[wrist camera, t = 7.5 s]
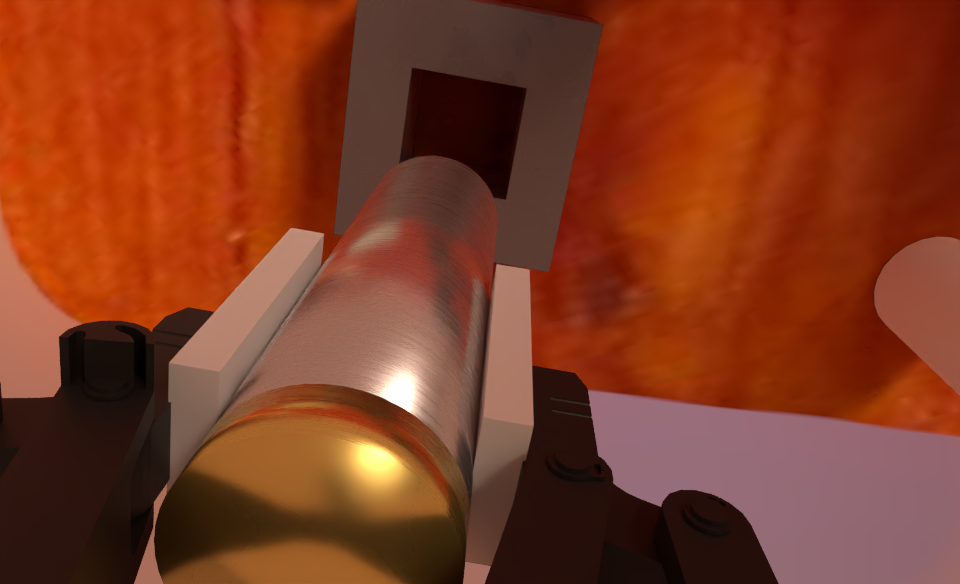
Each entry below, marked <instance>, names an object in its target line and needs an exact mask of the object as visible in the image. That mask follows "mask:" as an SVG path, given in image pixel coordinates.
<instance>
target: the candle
mask: <svg viewBox="0 0 960 584" xmlns="http://www.w3.org/2000/svg"><path fill="white" fill-rule="evenodd" d="M874 305H875V308H876V310H877V313H878V316H879V317H880V318H881V320H882V321H883V322H884V323H885V325H886V326H887V327H888V328H889V329H890V330H891V331H893V332H894V333H895V334H896V335H897V336H898V337H899V338H900V339H901V340H902V341H903V342H904V343H905V344H906V345H907V346H908V347H909V348H910V349H911V350H912V351H914V352H915V353H916V354H917V355H918V356H919V357H920V358H921V359H922V360H923V361H924V362H925V363H926V364H927V365H928V366H929V367H930V368H931V369H932V370H933V371H934V372H936V373H937V374H938V375H939V376H940V377H941V378H942V379H943V380H944V381H945V382H946V383H947V384H948V385H949V386H950V387H951V388H952V389H953V390H954V391H955V392H957V393H958V394H959V395H960V240H959V239H956V238H952V237H932V238H927V239H922V240H920V241H917V242H915V243H912V244H910V245H908V246H906V247H905V248H903V249H902V250H901V251H899V252H898V253H896V254H895V255H894V256H893V257H892V258H891V259H890V260H889V261H888V262H887V264H886V265H885V266H884V267H883V269H882V271H881V273H880V275H879V276H878V278H877V282H876V286H875V290H874Z"/></svg>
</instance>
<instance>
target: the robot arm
mask: <svg viewBox="0 0 960 584" xmlns="http://www.w3.org/2000/svg"><path fill="white" fill-rule="evenodd" d="M323 242H324V233H318V232H313V231H307V230H301V229H296V228H290V230H289V231H288V232H287V233H286V234H285V235H284V236H283V237H282V238H281V239H280V241H279V242H278V243H277V244H276V245H275V246H274V247H273V248H272V249H271V251H270V252H269V253H268V254H267V255H266V256H265V257H264V258H263V259H262V260H261V262H260V263H259V264H258V265H257V266H256V267H255V268H254V269H253V270H252V272H251V273H250V274H249V275H248V276H247V277H246V278H245V279H244V280H243V281H242V283H241V284H240V285H239V286H238V287H237V288H236V289H235V290H234V291H233V293H232V294H231V295H230V296H229V297H228V298H227V299H226V300H225V301H224V302H223V304H222V305H221V306H220V307H219V308H218V309H217V310H216V311H215V312H211V311H205V310H200V309H194V308H185V309H183V310H181V311H178V312H176V313H173V314H171V315H169V316H166V317H165V318H164V319H163V320H162V321H161V322H160V323H159V324H158V325H157V326H156V327H155V328H154V329H153V331H152V332H151V331H150V330H149V329H147V328H145V327H142V326H140V325H138V324H135V323H129V322H123V321H97V322H91V323H85V324H81V325H79V326H76V327H73V328H71V329H68V330H67V331H66V332H65V333H63V334H62V335H61V336H60V337H59V346H60V366H61V387H60V388H59V390H58V391H57V393H56V394H55V396H54V397H46V398H2V396H1V384H0V584H134V582H135V579H136V576H137V573H138V570H139V567H140V564H141V561H142V558H143V555H144V553H145V549H146V547H147V544H148V540H149V538H150V535H151V532H152V529H153V516H154V512H153V511H154V501H155V500H156V498H157V496H158V495H159V494H160V492H161V491H162V490H163V488H164V487H165V485H166V484H167V493H168V491H169V490H170V488H171V487H172V485H173V484H174V482H175V481H176V479H177V478H178V477H179V475H180V474H181V472H182V471H183V469H184V468H185V466H186V465H187V463H188V462H189V460H190V459H191V457H192V456H193V455H194V453H195V452H196V450H197V449H198V447H199V446H200V444H201V443H202V441H203V440H204V438H205V437H206V436H207V434H208V433H209V431H210V430H211V428H212V427H213V425H214V424H215V422H216V421H217V419H218V418H219V416H220V415H221V414H222V412H223V411H224V409H225V408H226V406H227V405H228V403H229V402H230V400H231V399H232V397H233V396H234V394H235V393H236V392H237V390H238V389H239V387H240V386H241V384H242V383H243V381H244V380H245V378H246V377H247V375H248V374H249V373H250V371H251V370H252V368H253V367H254V365H255V364H256V362H257V361H258V359H259V358H260V356H261V355H262V353H263V352H264V351H265V349H266V348H267V346H268V345H269V343H270V342H271V340H272V339H273V337H274V336H275V334H276V333H277V331H278V330H279V329H280V327H281V326H282V324H283V323H284V321H285V320H286V318H287V317H288V315H289V314H290V312H291V311H292V310H293V308H294V307H295V305H296V304H297V302H298V301H299V299H300V298H301V296H302V295H303V293H304V292H305V290H306V289H307V288H308V286H309V285H310V283H311V282H312V280H313V279H314V277H315V276H316V274H317V273H318V271H319V270H320V268H321V263H322V252H323ZM589 404H590V402H589V395H588V389H587V387H586V386H585V385H584V383H583V382H582V381H581V380H580V379H579V378H578V376H577V375H576V374H575V373H571V372H566V371H560V370H554V369H548V368H543V367H537V366H532V344H531V307H530V270H527V269H521V268H516V267H510V266H504V265H499V264H497V265H496V270H495V276H494V281H493V286H492V291H491V297H490V302H489V311H488V321H487V331H486V341H485V352H484V362H483V372H482V382H481V392H480V403H479V413H478V423H477V433H476V444H475V454H474V464H473V484H472V495H471V505H470V516H469V526H468V537H467V547H466V557H465V562H472V563H477V564H483V565H489V566H491V568H490V571H489V573H488V576H487V579H486V582H485V584H778V582H777V580H776V577H775V575H774V573H773V571H772V569H771V567H770V564H769V562H768V560H767V558H766V556H765V554H764V552H763V550H762V547H761V546H760V543H759V541H758V539H757V537H756V535H755V533H754V531H753V528H752V526H751V524H750V523H749V522H748V520H747V519H746V518H745V516H744V515H743V514H742V513H741V512H740V511H739V510H738V509H736V508H735V507H734V506H732V505H731V504H730V503H729V502H726V501H725V500H723V499H721V498H718V497H717V496H715V495H712V494H708V493H704V492H700V491H696V490H679V491H677V492H673V493H670V494H669V495H668V496H667V497H666V498H665V500H664V501H663V503H662V506H661V507H659V506H657V505H654V504H652V503H649V502H646V501H644V500H641V499H639V498H636V497H634V496H632V495H630V494H628V493H626V492H624V491H623V490H622V489H620V488H618V487H617V486H616V485H614V484H613V476H612V470H611V469H610V467H609V466H608V465H607V464H606V462H605V461H604V460H603V459H602V458H600V457H599V456H598V453H597V446H596V439H595V433H594V427H593V421H592V418H591V416H592V415H591V408H590V406H589Z"/></svg>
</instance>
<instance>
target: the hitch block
mask: <svg viewBox="0 0 960 584" xmlns="http://www.w3.org/2000/svg"><path fill="white" fill-rule="evenodd" d="M602 27H603V25H602V24H601V23H599V22H597V21H595V20H594V19H592V18H588V17H583V16H578V15H572V14H567V13H561V12H556V11H550V10H545V9H539V8H534V7H529V6H523V5H518V4H512V3H507V2H501V1H496V0H357V10H356V20H355V29H354V39H353V49H352V59H351V69H350V79H349V88H348V98H347V108H346V118H345V128H344V137H343V147H342V157H341V167H340V177H339V186H338V196H337V206H336V216H335V226H334V234H336V235H342V236H343V235H344V233H345V232H346V230H347V229H348V227H349V226H350V225H351V223H352V222H353V220H354V219H355V217H356V216H357V214H358V213H359V211H360V210H361V208H362V207H363V205H364V204H365V203H366V201H367V200H368V198H369V197H370V195H371V194H372V192H373V191H374V189H375V188H376V186H377V185H378V184H379V182H380V181H381V179H382V178H383V177H384V176H385V175H386V174H387V172H389V171H390V170H391V169H392V168H394V167H395V166H397V165H398V164H400V163H402V162H404V161H406V160H409V159H412V158H415V157H421V156H420V155H415V154H413V147H414V140H415V133H416V126H417V118H418V111H419V104H420V97H421V89H422V82H423V75H424V70H429V71H434V72H440V73H445V74H451V75H456V76H462V77H467V78H473V79H478V80H484V81H489V82H495V83H500V84H506V85H511V86H517V87H522V88H523V92H522V97H521V103H520V108H519V113H518V119H517V124H516V129H515V135H514V140H513V145H512V151H511V156H510V161H509V167H508V171H504V170H499V169H493V168H487V167H482V166H476V165H471V164H465V163H462V164H464V165H466V166H468V167H469V168H470V169H472V170H473V171H475V172H476V173H477V174H478V175H479V176H480V177H481V178H482V180H483V181H484V182H485V183H486V185H487V186H488V188H489V190H490V191H491V194H492V196H493V198H494V201H495V204H496V209H497V220H498V223H497V234H496V244H495V255H494V262H495V263H501V264H507V265H512V266H518V267H524V268H529V269H535V270H541V271H546V272H549V269H550V264H551V259H552V255H553V250H554V246H555V241H556V237H557V232H558V228H559V223H560V218H561V214H562V209H563V205H564V200H565V196H566V191H567V187H568V182H569V177H570V173H571V168H572V164H573V159H574V155H575V150H576V146H577V141H578V136H579V132H580V127H581V123H582V118H583V114H584V109H585V105H586V100H587V95H588V91H589V86H590V82H591V77H592V73H593V68H594V64H595V59H596V54H597V50H598V45H599V41H600V36H601V32H602Z"/></svg>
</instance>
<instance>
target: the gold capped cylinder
mask: <svg viewBox="0 0 960 584" xmlns="http://www.w3.org/2000/svg"><path fill="white" fill-rule="evenodd" d="M497 223H498V220H497V209H496V204H495V201H494V198H493V196H492V194H491V191H490V190H489V188H488V186H487V185H486V183H485V182H484V181H483V180H482V178H481V177H480V176H479V175H478V174H477V173H476V172H475V171H473V170H472V169H470V168H469V167H468V166H466V165H464V164H462V163H461V162H458V161H456V160H453V159H450V158H446V157H442V156H421V157H415V158H412V159H409V160H406V161H404V162H402V163H400V164H398V165H397V166H395V167H394V168H392V169H391V170H390V171H389V172H387V174H386V175H385V176H384V177H383V178H382V179H381V181H380V182H379V184H378V185H377V186H376V188H375V189H374V191H373V192H372V194H371V195H370V197H369V198H368V200H367V201H366V203H365V204H364V205H363V207H362V208H361V210H360V211H359V213H358V214H357V216H356V217H355V219H354V220H353V222H352V223H351V225H350V226H349V227H348V229H347V230H346V232H345V233H344V235H343V236H342V238H341V239H340V241H339V242H338V244H337V245H336V246H335V248H334V249H333V251H332V252H331V254H330V255H329V257H328V258H327V260H326V261H325V263H324V264H323V266H322V267H321V268H320V270H319V271H318V273H317V274H316V276H315V277H314V279H313V280H312V282H311V283H310V285H309V286H308V288H307V289H306V290H305V292H304V293H303V295H302V296H301V298H300V299H299V301H298V302H297V304H296V305H295V307H294V308H293V310H292V311H291V312H290V314H289V315H288V317H287V318H286V320H285V321H284V323H283V324H282V326H281V327H280V329H279V330H278V331H277V333H276V334H275V336H274V337H273V339H272V340H271V342H270V343H269V345H268V346H267V348H266V349H265V351H264V352H263V353H262V355H261V356H260V358H259V359H258V361H257V362H256V364H255V365H254V367H253V368H252V370H251V371H250V373H249V374H248V375H247V377H246V378H245V380H244V381H243V383H242V384H241V386H240V387H239V389H238V390H237V392H236V393H235V394H234V396H233V397H232V399H231V400H230V402H229V403H228V405H227V406H226V408H225V409H224V411H223V412H222V414H221V415H220V416H219V418H218V419H217V421H216V422H215V424H214V425H213V427H212V428H211V430H210V431H209V433H208V434H207V436H206V437H205V438H204V440H203V441H202V443H201V444H200V446H199V447H198V449H197V450H196V452H195V453H194V455H193V456H192V457H191V459H190V460H189V462H188V463H187V465H186V466H185V468H184V469H183V471H182V472H181V474H180V475H179V477H178V478H177V479H176V481H175V482H174V484H173V485H172V487H171V488H170V490H169V491H168V493H167V495H166V496H165V499H164V501H163V503H162V505H161V507H160V510H159V514H158V518H157V521H156V525H155V537H154V545H155V557H156V561H157V565H158V570H159V573H160V576H161V578H162V581H163V583H164V584H463V577H464V567H465V557H466V547H467V537H468V526H469V516H470V505H471V495H472V484H473V464H474V454H475V444H476V433H477V423H478V413H479V403H480V392H481V382H482V372H483V362H484V352H485V341H486V331H487V321H488V311H489V302H490V296H491V286H492V276H493V265H494V255H495V244H496V234H497Z"/></svg>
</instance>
